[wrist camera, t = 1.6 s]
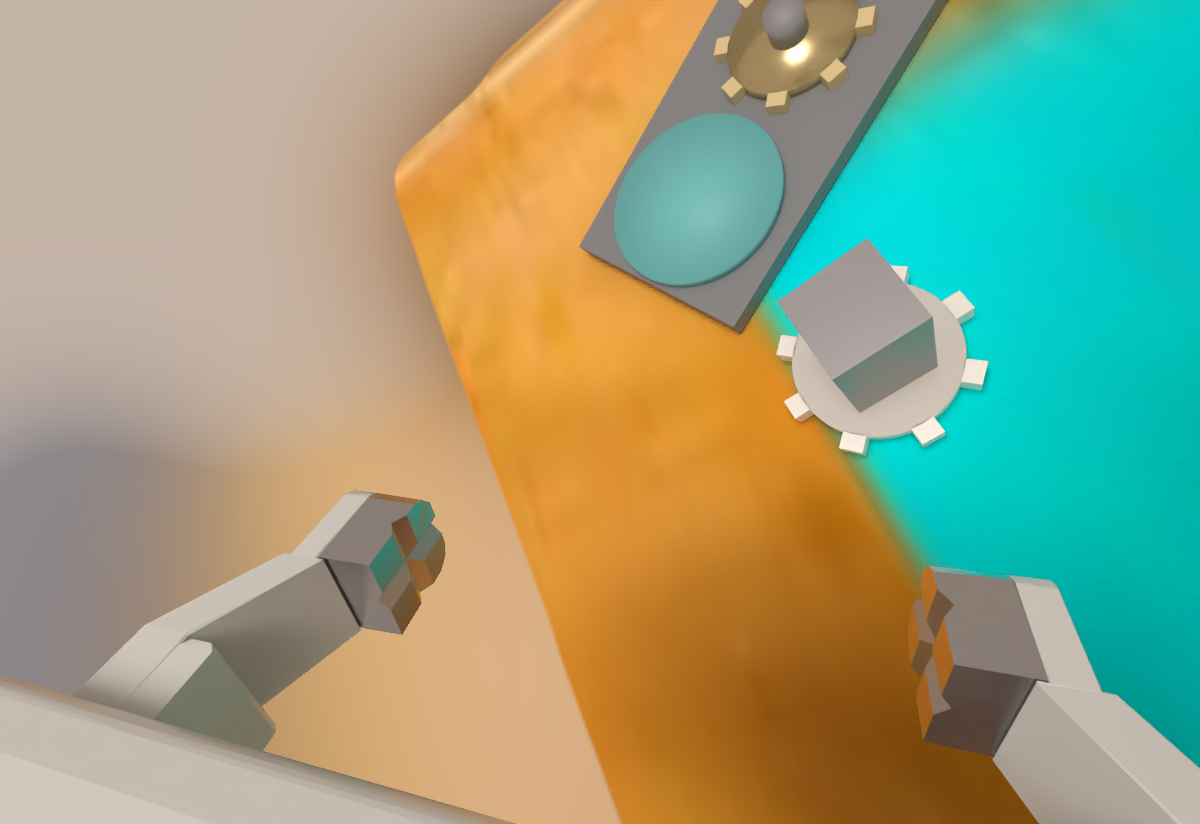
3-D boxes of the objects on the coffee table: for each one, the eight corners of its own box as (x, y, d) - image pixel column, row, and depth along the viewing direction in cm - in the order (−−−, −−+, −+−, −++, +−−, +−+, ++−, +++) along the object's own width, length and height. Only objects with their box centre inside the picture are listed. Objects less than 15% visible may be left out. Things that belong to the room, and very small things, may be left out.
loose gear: (906, 239, 34) (890, 142, 25) (1034, 386, 29) (1066, 329, 21) (751, 346, 37) (691, 293, 29) (845, 490, 33) (807, 478, 25)
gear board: (762, -49, 42) (744, -101, 38) (963, -25, 34) (964, -87, 31) (589, 254, 45) (559, 231, 42) (740, 333, 38) (719, 314, 34)
